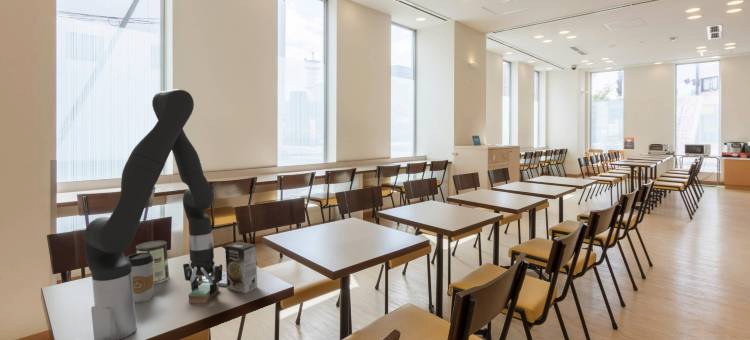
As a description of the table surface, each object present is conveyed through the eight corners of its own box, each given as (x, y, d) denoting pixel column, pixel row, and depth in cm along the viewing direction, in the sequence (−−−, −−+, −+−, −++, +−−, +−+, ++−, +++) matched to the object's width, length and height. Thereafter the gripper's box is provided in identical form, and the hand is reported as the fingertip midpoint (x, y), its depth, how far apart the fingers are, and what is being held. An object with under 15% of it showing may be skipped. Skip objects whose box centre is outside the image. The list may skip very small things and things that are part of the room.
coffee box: (226, 289, 141) (224, 245, 140) (240, 282, 147) (238, 240, 145) (244, 293, 137) (242, 248, 135) (258, 287, 143) (256, 243, 141)
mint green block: (205, 303, 131) (204, 294, 130) (189, 303, 131) (188, 294, 130) (218, 291, 140) (218, 282, 140) (203, 291, 141) (203, 282, 140)
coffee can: (153, 273, 157) (151, 239, 156) (175, 276, 155) (172, 241, 153) (132, 283, 147) (129, 247, 146) (154, 286, 145) (152, 249, 143)
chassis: (228, 286, 143) (228, 273, 143) (195, 283, 147) (194, 270, 146) (245, 275, 154) (245, 262, 154) (214, 273, 157) (213, 260, 157)
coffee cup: (124, 305, 129) (120, 261, 128) (132, 294, 137) (128, 253, 136) (152, 301, 132) (149, 258, 130) (158, 292, 140) (155, 251, 138)
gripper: (175, 248, 132) (178, 295, 134) (212, 250, 128) (215, 299, 130) (190, 241, 139) (193, 287, 141) (226, 244, 136) (229, 290, 137)
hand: (204, 293), depth 136 cm, fingers open, 6 cm apart
